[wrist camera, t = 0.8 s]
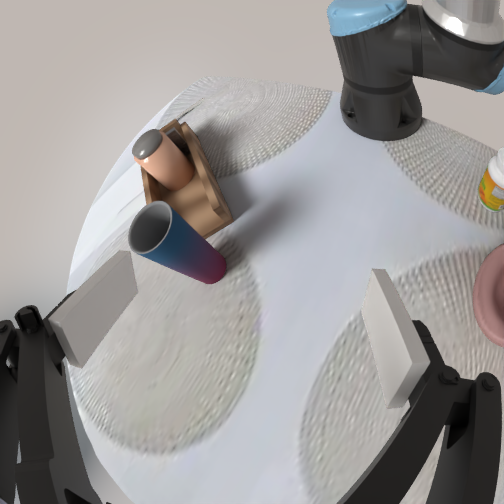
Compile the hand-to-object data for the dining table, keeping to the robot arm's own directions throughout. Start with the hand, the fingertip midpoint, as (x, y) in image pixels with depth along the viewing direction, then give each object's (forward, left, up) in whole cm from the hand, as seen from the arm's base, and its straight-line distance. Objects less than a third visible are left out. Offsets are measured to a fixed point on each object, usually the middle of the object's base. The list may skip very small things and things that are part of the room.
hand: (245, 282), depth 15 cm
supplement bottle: (-25, +21, -23) cm, 40 cm away
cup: (-4, -18, -23) cm, 30 cm away
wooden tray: (-17, -32, -23) cm, 43 cm away
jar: (-19, -34, -22) cm, 45 cm away
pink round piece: (-9, +23, -23) cm, 34 cm away
